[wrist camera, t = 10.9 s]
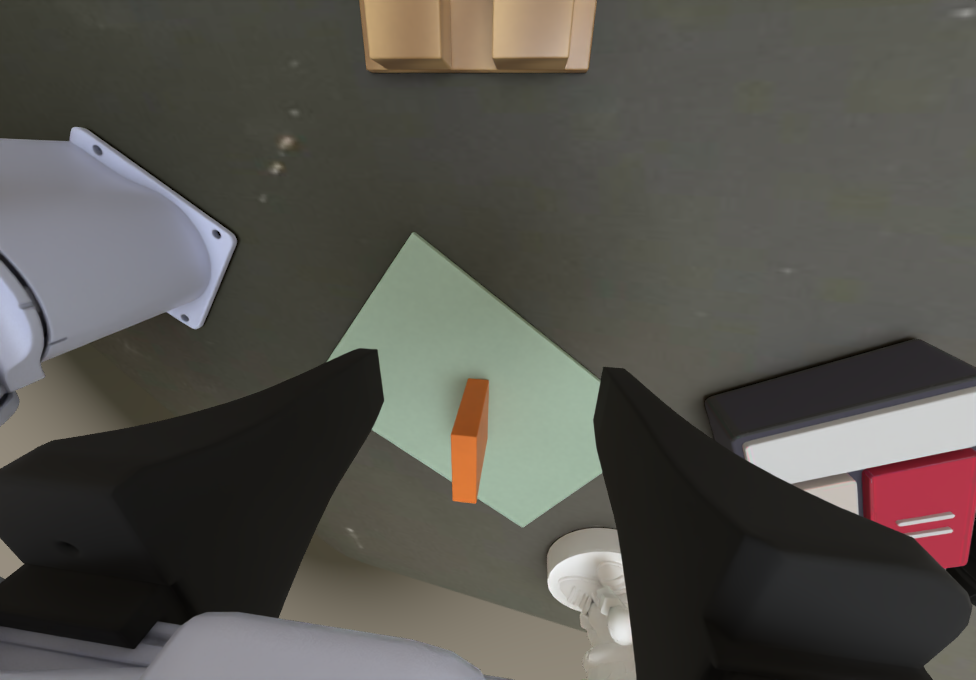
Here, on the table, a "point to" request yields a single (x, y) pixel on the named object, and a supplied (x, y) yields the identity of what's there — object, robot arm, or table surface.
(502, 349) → the mat
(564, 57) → the holder
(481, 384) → the block
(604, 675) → the character figurine
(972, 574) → the tape measure
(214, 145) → the table surface
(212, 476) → the robot arm
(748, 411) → the calculator
